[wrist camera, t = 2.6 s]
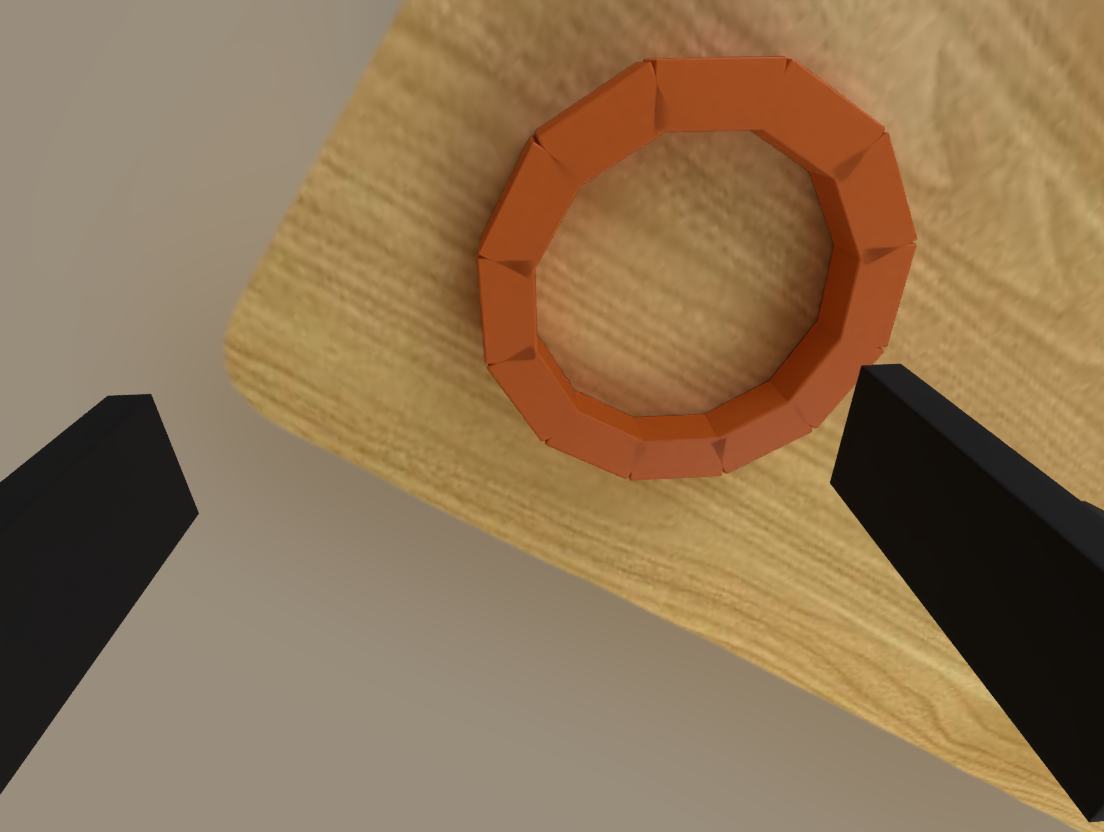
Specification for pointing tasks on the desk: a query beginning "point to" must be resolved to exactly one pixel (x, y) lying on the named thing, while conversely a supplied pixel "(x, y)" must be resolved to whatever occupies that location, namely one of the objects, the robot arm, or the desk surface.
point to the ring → (624, 127)
